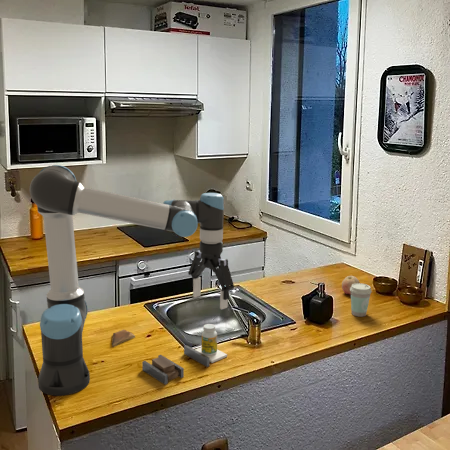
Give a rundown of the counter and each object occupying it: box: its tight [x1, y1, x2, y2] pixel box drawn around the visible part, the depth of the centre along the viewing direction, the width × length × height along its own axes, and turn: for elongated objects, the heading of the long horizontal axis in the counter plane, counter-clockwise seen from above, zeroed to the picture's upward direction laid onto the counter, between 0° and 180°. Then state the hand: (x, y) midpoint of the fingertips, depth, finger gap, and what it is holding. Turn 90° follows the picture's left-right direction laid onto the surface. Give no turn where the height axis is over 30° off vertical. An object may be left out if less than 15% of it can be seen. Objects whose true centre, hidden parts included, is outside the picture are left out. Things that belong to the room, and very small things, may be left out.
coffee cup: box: [350, 283, 373, 318], centre depth 224 cm, size 9×8×12 cm
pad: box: [194, 346, 228, 364], centre depth 188 cm, size 7×10×1 cm
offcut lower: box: [150, 363, 180, 382], centre depth 175 cm, size 4×9×2 cm, turn 43°
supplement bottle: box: [200, 323, 218, 355], centre depth 187 cm, size 5×5×10 cm
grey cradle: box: [141, 344, 210, 386], centre depth 178 cm, size 18×12×3 cm, turn 133°
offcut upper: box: [151, 355, 175, 373], centre depth 174 cm, size 4×7×2 cm, turn 38°
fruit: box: [341, 275, 360, 296], centre depth 247 cm, size 8×8×8 cm
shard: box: [111, 329, 136, 348], centre depth 198 cm, size 11×8×2 cm
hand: (209, 302), depth 183 cm, fingers open, 13 cm apart
